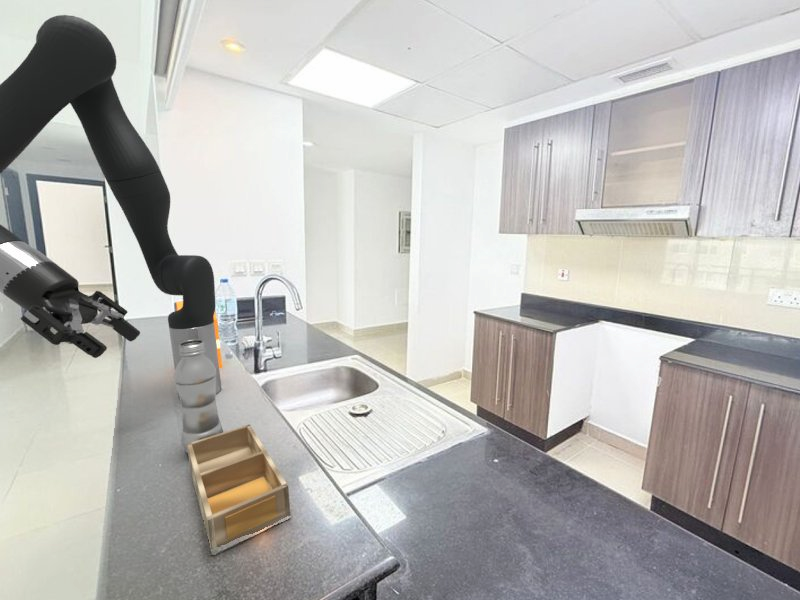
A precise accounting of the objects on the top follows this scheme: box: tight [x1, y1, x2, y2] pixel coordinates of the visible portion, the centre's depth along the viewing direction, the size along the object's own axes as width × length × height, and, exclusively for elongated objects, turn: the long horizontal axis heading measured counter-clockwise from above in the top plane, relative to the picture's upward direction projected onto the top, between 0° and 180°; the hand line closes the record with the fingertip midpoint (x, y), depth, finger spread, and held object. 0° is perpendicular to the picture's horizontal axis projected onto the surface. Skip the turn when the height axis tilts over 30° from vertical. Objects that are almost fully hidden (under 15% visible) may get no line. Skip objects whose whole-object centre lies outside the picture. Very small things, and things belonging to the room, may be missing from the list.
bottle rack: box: [187, 424, 291, 549], centre depth 53 cm, size 20×10×5 cm, turn 37°
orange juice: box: [176, 300, 223, 369], centre depth 101 cm, size 8×9×20 cm
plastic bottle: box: [173, 340, 224, 454], centre depth 62 cm, size 6×7×20 cm
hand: (120, 344), depth 59 cm, fingers open, 8 cm apart
